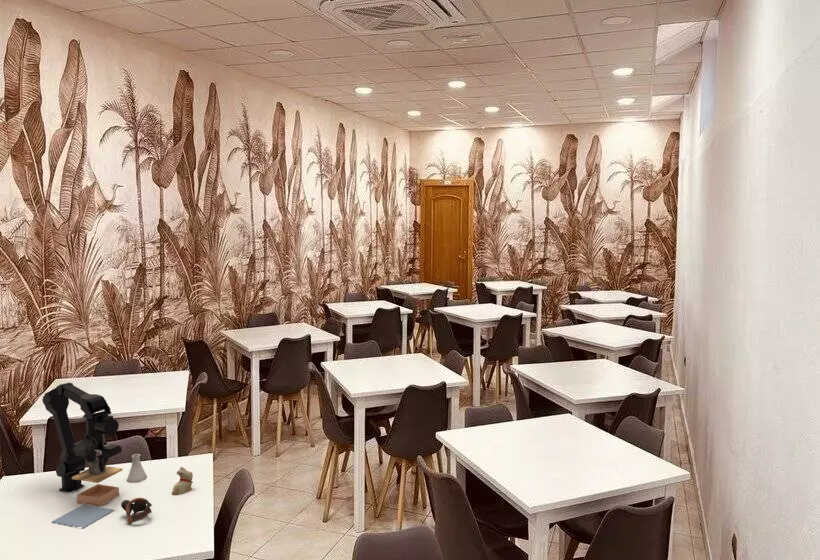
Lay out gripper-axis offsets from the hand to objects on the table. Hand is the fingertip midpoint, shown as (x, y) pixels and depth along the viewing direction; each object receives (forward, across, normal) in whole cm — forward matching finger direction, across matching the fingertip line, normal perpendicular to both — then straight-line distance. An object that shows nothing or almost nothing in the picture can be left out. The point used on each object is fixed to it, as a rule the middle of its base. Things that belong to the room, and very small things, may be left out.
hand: (97, 470), depth 233 cm
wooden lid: (+2, 0, 0) cm, 2 cm away
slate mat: (+11, +6, -13) cm, 18 cm away
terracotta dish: (+11, 0, 0) cm, 11 cm away
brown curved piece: (+11, +24, -8) cm, 28 cm away
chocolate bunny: (+11, +26, +15) cm, 32 cm away
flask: (+11, +1, +19) cm, 22 cm away
